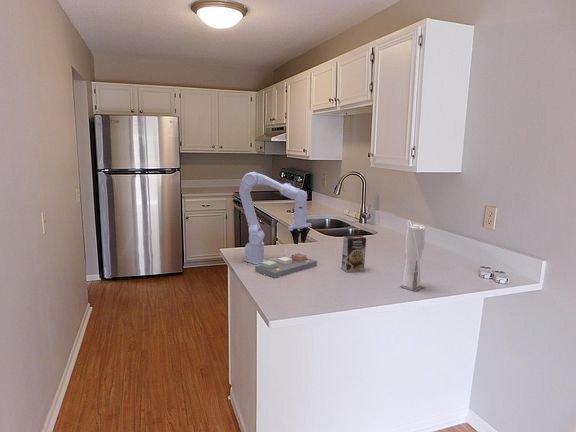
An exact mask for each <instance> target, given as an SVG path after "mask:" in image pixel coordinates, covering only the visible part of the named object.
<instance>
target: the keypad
mask: <svg viewBox="0 0 576 432" xmlns="http://www.w3.org/2000/svg"><path fill="white" fill-rule="evenodd" d="M288 258H291V259H292V256H290V257H288ZM273 262H276V263H277V260H275V261H273ZM317 265H318V261H317V260H315V259H310V258H309V257H306V260H304V261H300V262H299V261H296V260H292V264H289V265H285V266H284V265H281V264H278V263H277V268H274V269H271V270H268V269H265V268H262V267H261V264H257V265H255V266H254V267H255V269H254V271H256V273H258V272H259V274H261V273H262V275H264V274H265V275H264V276H267V275H268V277H270V276H271V277H270V278H273V277H274V278H273V279H277V277H278V278H281V277H285V276H288V275H290V274H294V273H297V272H301V271H305V270H308V269H311V268H314V267H317ZM287 274H288V275H287ZM284 275H285V276H284ZM280 276H281V277H280Z"/></svg>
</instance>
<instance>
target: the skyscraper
mask: <svg viewBox="0 0 576 432" xmlns="http://www.w3.org/2000/svg"><path fill="white" fill-rule="evenodd" d="M409 224H410V225H409ZM425 235H426V227H425V226H424V225H423V224H415V223H413V224H412V222H411V220H410V219H408V220H407V227H406V235H405V242H404V243H405V247H404V250H405V259H406V261H405V266H404V270H403V271H404V272H403V278H402V285H400V286H399V288H400V287H401V288H400V289H404V290H407V291H410V290H411V292H415V293H416V292H419V291H420V290H423V289H424V288H425V287H424V286H422V285H421V257H422V255H423V253H424V247H425V237H426V236H425Z"/></svg>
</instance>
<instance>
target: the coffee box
mask: <svg viewBox="0 0 576 432" xmlns="http://www.w3.org/2000/svg"><path fill="white" fill-rule="evenodd" d="M342 239H343V241H342V256H341V269H342V270H343V271H344V272H345V273H359V272H365V264H366V263H365V262H366V249H367V248H366V247H367V238H366V237H365V236H363V235H343V238H342Z"/></svg>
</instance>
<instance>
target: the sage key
mask: <svg viewBox="0 0 576 432" xmlns="http://www.w3.org/2000/svg"><path fill="white" fill-rule="evenodd" d="M260 265H261V267H262V268H265V269H268V270H271V269H274V268H277V263H276V262H274V261H272V260H267V261H265V262H262V263H260Z"/></svg>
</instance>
